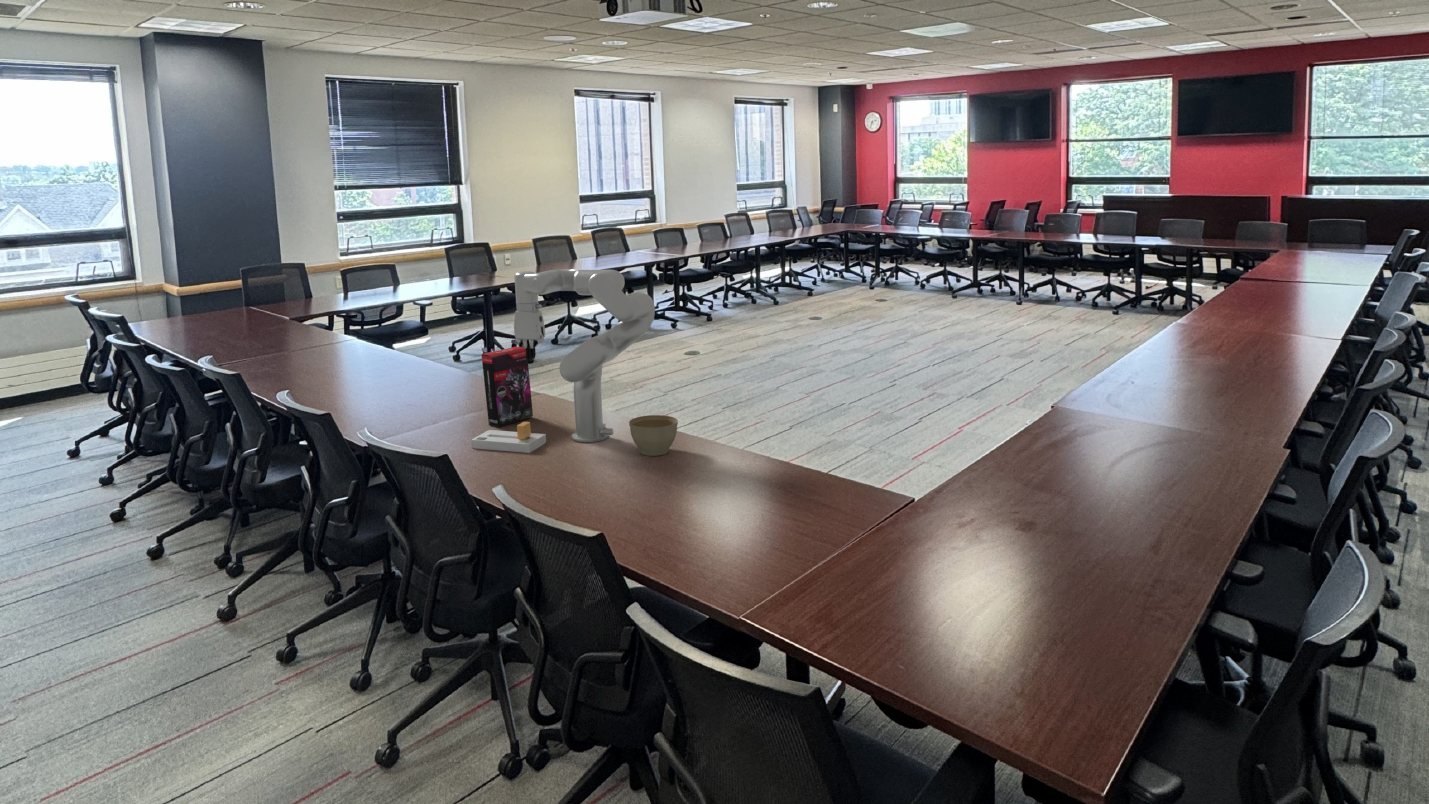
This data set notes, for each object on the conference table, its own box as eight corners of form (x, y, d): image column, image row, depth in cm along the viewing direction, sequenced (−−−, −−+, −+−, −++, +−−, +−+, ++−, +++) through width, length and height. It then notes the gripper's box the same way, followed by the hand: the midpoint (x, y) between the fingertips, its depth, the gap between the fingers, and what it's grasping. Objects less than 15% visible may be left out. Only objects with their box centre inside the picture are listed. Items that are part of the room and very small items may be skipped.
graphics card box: (498, 428, 337) (492, 355, 330) (486, 425, 341) (480, 353, 334) (533, 417, 350) (528, 347, 343) (521, 414, 354) (516, 345, 347)
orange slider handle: (532, 441, 316) (530, 422, 314) (525, 445, 311) (523, 426, 310) (524, 441, 317) (523, 421, 315) (517, 445, 312) (515, 425, 311)
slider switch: (546, 442, 319) (545, 433, 318) (529, 452, 308) (529, 443, 307) (489, 437, 325) (489, 429, 324) (471, 448, 314) (471, 439, 313)
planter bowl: (688, 451, 307) (687, 419, 304) (654, 463, 295) (653, 430, 293) (654, 441, 317) (653, 411, 315) (620, 453, 306) (618, 421, 303)
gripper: (551, 306, 321) (555, 357, 326) (513, 305, 325) (517, 355, 330) (542, 309, 314) (545, 361, 319) (503, 308, 318) (506, 360, 323)
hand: (531, 358), depth 324 cm, fingers closed
